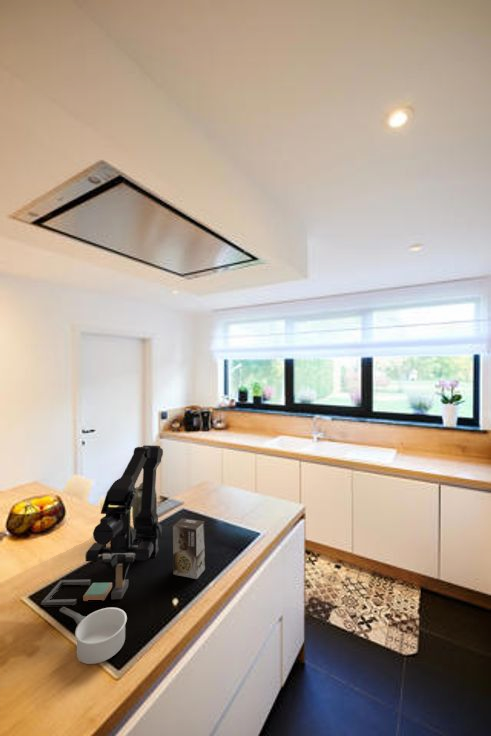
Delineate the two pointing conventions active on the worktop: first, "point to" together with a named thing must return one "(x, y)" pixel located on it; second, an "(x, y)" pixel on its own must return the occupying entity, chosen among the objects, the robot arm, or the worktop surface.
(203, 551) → the coffee box
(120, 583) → the pusher
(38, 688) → the worktop surface
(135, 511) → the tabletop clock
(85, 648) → the saucepan
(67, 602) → the corral
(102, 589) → the tile
